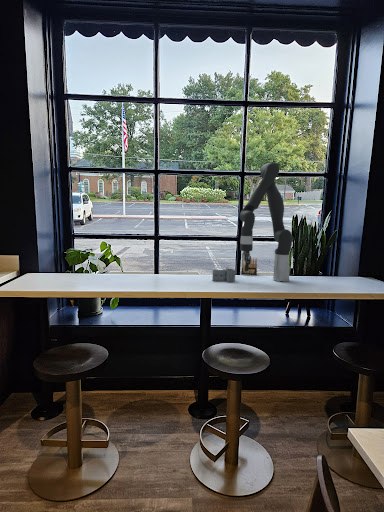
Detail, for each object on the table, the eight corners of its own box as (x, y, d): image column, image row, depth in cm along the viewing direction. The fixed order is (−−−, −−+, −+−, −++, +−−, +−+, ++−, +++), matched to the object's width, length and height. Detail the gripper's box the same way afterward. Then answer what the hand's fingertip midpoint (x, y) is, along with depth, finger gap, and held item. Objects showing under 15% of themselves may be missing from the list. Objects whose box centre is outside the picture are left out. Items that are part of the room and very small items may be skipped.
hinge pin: (247, 271, 220) (247, 257, 219) (248, 272, 217) (249, 258, 216) (242, 271, 220) (243, 257, 218) (244, 272, 217) (244, 258, 215)
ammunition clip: (256, 274, 243) (257, 257, 241) (256, 275, 241) (257, 258, 239) (241, 274, 243) (241, 257, 241) (241, 274, 241) (242, 257, 239)
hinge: (230, 277, 232) (231, 266, 231) (236, 281, 218) (236, 270, 217) (209, 277, 231) (210, 266, 230) (213, 281, 217) (213, 270, 216)
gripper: (255, 244, 209) (254, 272, 212) (249, 241, 223) (248, 268, 226) (243, 244, 208) (242, 272, 211) (237, 241, 222) (237, 268, 225)
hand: (245, 270), depth 218 cm, fingers closed on hinge pin, 3 cm apart
